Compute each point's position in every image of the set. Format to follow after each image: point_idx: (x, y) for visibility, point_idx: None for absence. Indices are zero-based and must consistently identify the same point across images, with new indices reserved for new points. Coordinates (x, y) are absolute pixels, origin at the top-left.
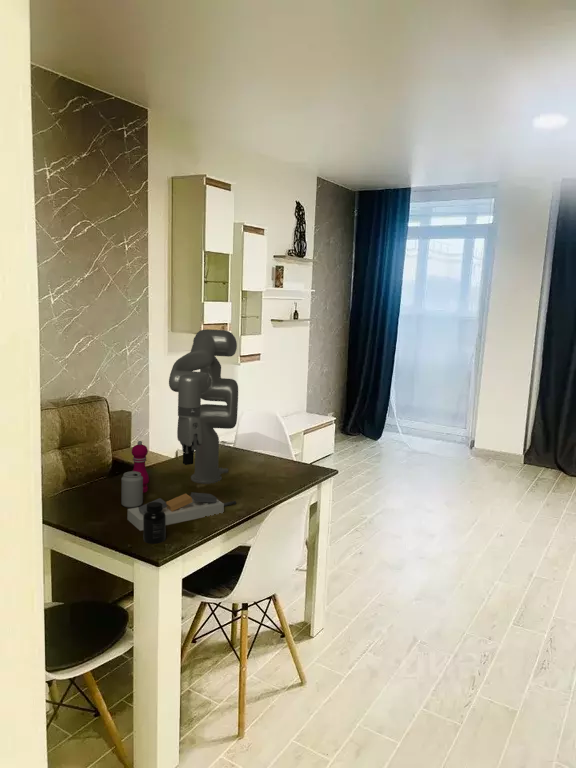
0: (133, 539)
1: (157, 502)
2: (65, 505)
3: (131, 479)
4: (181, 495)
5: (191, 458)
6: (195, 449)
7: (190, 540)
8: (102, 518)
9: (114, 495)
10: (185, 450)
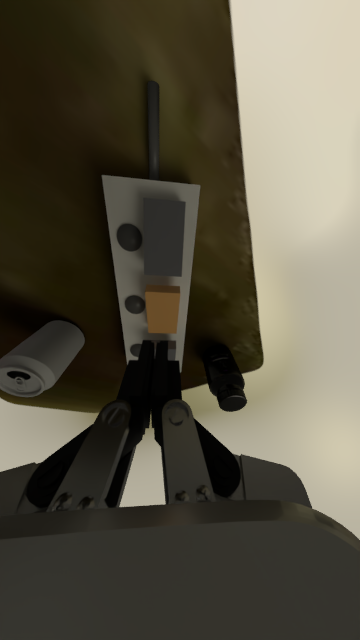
0: (196, 370)
1: (228, 398)
2: (45, 396)
3: (49, 384)
4: (147, 302)
5: (179, 378)
6: (292, 486)
7: (249, 319)
8: (111, 377)
9: (3, 340)
10: (134, 443)
